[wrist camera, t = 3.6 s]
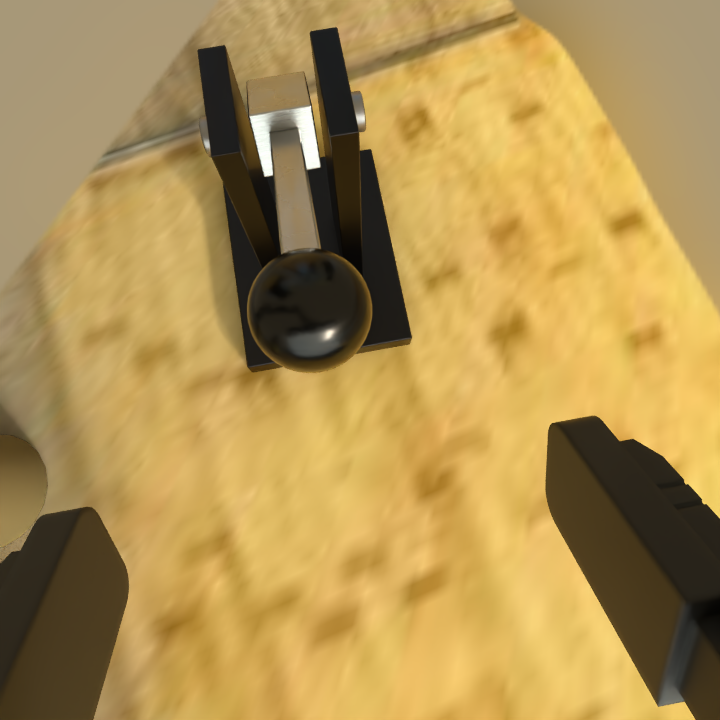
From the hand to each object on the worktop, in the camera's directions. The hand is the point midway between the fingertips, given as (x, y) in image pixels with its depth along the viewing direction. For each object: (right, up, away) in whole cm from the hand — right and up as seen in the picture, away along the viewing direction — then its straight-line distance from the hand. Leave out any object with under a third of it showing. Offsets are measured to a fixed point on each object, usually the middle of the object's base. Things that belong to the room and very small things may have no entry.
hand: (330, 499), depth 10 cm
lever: (-1, +6, +9) cm, 11 cm away
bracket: (-2, +8, +22) cm, 24 cm away
